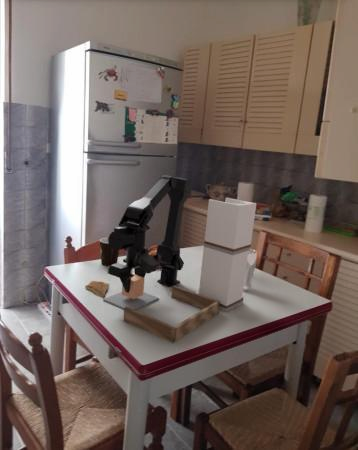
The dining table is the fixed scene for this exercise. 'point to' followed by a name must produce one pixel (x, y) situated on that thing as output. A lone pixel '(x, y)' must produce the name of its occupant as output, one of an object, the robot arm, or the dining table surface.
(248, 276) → the beer glass
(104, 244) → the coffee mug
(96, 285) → the shard
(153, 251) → the pastry
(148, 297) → the slate mat
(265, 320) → the dining table surface
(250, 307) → the dining table surface
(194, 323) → the walnut u-shaped frame
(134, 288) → the terracotta block
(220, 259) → the banded white pillar
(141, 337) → the dining table surface
